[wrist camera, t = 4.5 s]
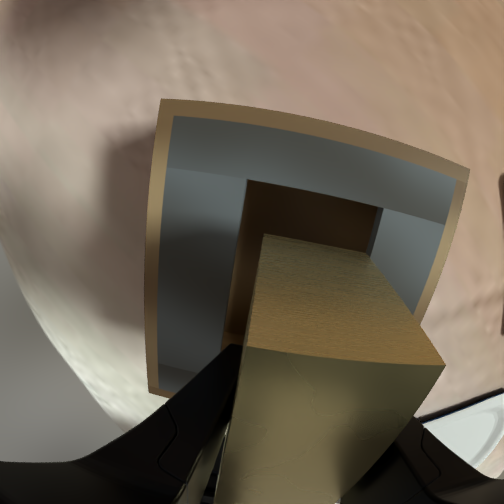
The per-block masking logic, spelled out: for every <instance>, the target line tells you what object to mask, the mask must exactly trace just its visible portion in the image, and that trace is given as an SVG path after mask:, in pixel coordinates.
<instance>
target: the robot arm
mask: <svg viewBox="0 0 504 504" xmlns="http://www.w3.org/2000/svg"><path fill="white" fill-rule="evenodd" d="M242 350H243V345H239V344H234V343H230V344H229V345H228V346H227V347H226V348H224V349H223V350H222V351H221V352H220V353H219V354H218V355H217V356H216V357H215V358H214V359H213V360H212V361H211V362H210V363H209V364H207V365H206V366H205V367H204V368H203V369H202V370H201V371H200V372H199V373H198V374H197V375H196V376H194V377H193V378H192V379H191V380H190V381H189V382H188V383H187V384H186V385H185V386H183V387H182V388H181V389H180V390H179V391H178V392H177V393H176V394H175V395H173V396H172V397H171V398H170V399H169V400H168V401H167V402H166V403H165V404H163V405H162V406H161V407H160V408H159V409H157V410H156V411H155V412H154V413H153V414H151V415H150V416H149V417H148V418H146V419H145V420H144V421H143V422H141V423H140V424H138V425H137V426H135V427H134V428H132V429H131V430H129V431H128V432H126V433H125V434H123V435H122V436H120V437H118V438H117V439H115V440H113V441H111V442H110V443H108V444H107V445H105V446H103V447H101V448H100V449H98V450H96V451H95V452H93V453H91V454H89V455H87V456H85V457H82V458H80V459H76V460H73V461H67V462H45V463H44V462H41V463H31V462H3V461H0V504H213V501H214V496H215V490H216V485H217V480H218V474H219V469H220V464H221V458H222V453H223V447H224V442H225V437H224V435H225V432H226V429H227V426H228V423H229V419H230V414H231V409H232V404H233V399H234V394H235V389H236V384H237V379H238V374H239V368H240V362H241V356H242ZM340 504H504V479H494V478H490V477H487V476H485V475H483V474H482V473H480V472H479V471H477V470H476V469H475V468H473V467H472V466H471V465H469V464H468V463H467V462H466V461H464V460H463V459H462V458H460V457H459V456H458V455H456V454H455V453H454V452H453V451H451V450H450V449H449V448H448V447H447V446H445V445H444V444H443V443H442V442H441V441H440V440H439V439H437V438H436V437H435V436H434V435H433V434H432V433H431V432H430V431H429V430H428V429H427V428H424V425H423V424H422V423H420V422H419V421H418V420H417V419H416V418H415V417H414V416H413V417H412V418H411V419H410V421H409V422H408V423H407V425H406V426H405V427H404V429H403V430H402V431H401V433H400V434H399V435H398V436H397V438H396V439H395V440H394V441H393V443H392V444H391V445H390V446H389V447H388V449H387V450H386V451H385V452H384V453H383V454H382V456H381V457H380V458H379V459H378V460H377V461H376V462H375V463H374V465H373V466H372V467H371V468H370V469H369V470H368V471H367V472H366V473H365V474H364V475H363V476H362V477H361V478H360V479H359V481H358V482H357V483H356V484H355V485H354V486H353V487H352V488H350V489H349V490H348V491H347V492H346V493H345V494H344V495H343V496H342V497H341V498H340Z"/></svg>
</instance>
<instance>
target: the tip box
mask: <svg viewBox="0 0 504 504" xmlns="http://www.w3.org/2000/svg"><path fill="white" fill-rule="evenodd" d="M469 173H470V169H468V168H466V167H464V166H461V165H459V164H457V163H454V162H452V161H450V160H447V159H445V158H442V157H440V156H437V155H434V154H432V153H429V152H427V151H424V150H421V149H418V148H416V147H413V146H410V145H407V144H404V143H401V142H398V141H395V140H392V139H389V138H386V137H383V136H379V135H376V134H373V133H369V132H366V131H362V130H359V129H355V128H351V127H347V126H344V125H340V124H336V123H332V122H327V121H323V120H319V119H314V118H310V117H305V116H300V115H295V114H290V113H285V112H279V111H273V110H267V109H261V108H255V107H248V106H240V105H233V104H224V103H215V102H205V101H193V100H178V99H161V101H160V107H159V113H158V120H157V126H156V133H155V140H154V148H153V156H152V165H151V174H150V184H149V195H148V207H147V222H146V241H145V273H144V314H145V345H146V364H147V378H148V390H149V393H152V394H155V395H159V396H162V397H166V398H171V397H172V396H173V395H175V394H176V393H177V392H178V391H179V390H180V389H181V388H182V387H183V386H185V385H186V384H187V383H188V382H189V381H190V380H191V379H192V378H193V377H194V376H196V375H197V374H198V373H199V372H200V371H201V370H202V369H203V368H204V367H205V366H206V365H207V364H209V363H210V362H211V361H212V360H213V359H214V358H215V357H216V356H217V355H218V354H219V353H220V352H221V351H222V350H223V349H224V348H226V347H227V346H228V345H229V344H230V343H234V344H239V345H243V342H244V337H245V332H246V326H247V321H248V316H249V311H250V305H251V300H252V295H253V289H254V284H255V279H256V273H257V268H258V263H259V257H260V252H261V246H262V241H263V235H264V234H270V235H275V236H281V237H286V238H291V239H297V240H302V241H307V242H313V243H318V244H323V245H328V246H333V247H339V248H344V249H349V250H354V251H359V252H364V253H367V255H368V256H369V257H370V259H371V260H372V261H373V262H374V264H375V265H376V266H377V267H378V269H379V270H380V271H381V273H382V274H383V275H384V277H385V278H386V279H387V281H388V282H389V283H390V285H391V286H392V287H393V289H394V290H395V291H396V293H397V294H398V295H399V297H400V298H401V299H402V301H403V302H404V304H405V305H406V306H407V308H408V309H409V311H410V312H411V313H412V315H413V316H414V318H415V319H416V321H417V322H418V323H419V325H420V324H421V321H422V319H423V317H424V315H425V312H426V310H427V308H428V305H429V303H430V301H431V298H432V296H433V293H434V291H435V288H436V286H437V283H438V281H439V278H440V275H441V273H442V270H443V267H444V264H445V261H446V258H447V255H448V252H449V249H450V246H451V243H452V240H453V237H454V233H455V230H456V227H457V223H458V219H459V216H460V212H461V208H462V204H463V200H464V196H465V192H466V187H467V183H468V178H469Z"/></svg>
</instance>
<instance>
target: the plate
mask: <svg viewBox="0 0 504 504" xmlns="http://www.w3.org/2000/svg"><path fill="white" fill-rule="evenodd" d="M422 424H423V425H424V428H427V429H428V430H429V431H430V432H431V433H432V434H433V435H434V436H435V437H436V438H437V439H439V440H440V441H441V442H442V443H443V444H444V445H445V446H447V447H448V448H449V449H450V450H451V451H453V452H454V453H455V454H456V455H458V456H459V457H460V458H462V459H463V460H464V461H466V462H467V463H468V464H469V465H471V466H472V467H473V468H476V467H478V466H479V465H480V464H481V463H482V462H483V461H484V460H485V459H486V458H487V456H488V455H489V454H490V453H491V452H492V450H493V449H494V448H495V446H496V445H497V444H498V442H499V441H500V439H501V438H502V436H503V435H504V392H503V393H500V394H497V395H495V396H492V397H489V398H486V399H484V400H481V401H479V402H477V403H474V404H472V405H469V406H467V407H464V408H461V409H459V410H456V411H454V412H451V413H448V414H446V415H443V416H440V417H437V418H434V419H431V420H428V421H426V422H423V423H422ZM339 500H340V499H339Z"/></svg>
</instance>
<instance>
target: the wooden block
mask: <svg viewBox="0 0 504 504" xmlns="http://www.w3.org/2000/svg"><path fill="white" fill-rule="evenodd" d="M445 366H446V364H445V363H444V361H443V360H442V358H441V356H440V355H439V353H438V352H437V350H436V349H435V347H434V346H433V344H432V343H431V341H430V340H429V338H428V337H427V335H426V334H425V332H424V331H423V329H422V328H421V326H420V325H419V323H418V322H417V321H416V319H415V318H414V316H413V315H412V313H411V312H410V311H409V309H408V308H407V306H406V305H405V304H404V302H403V301H402V299H401V298H400V297H399V295H398V294H397V293H396V291H395V290H394V289H393V287H392V286H391V285H390V283H389V282H388V281H387V279H386V278H385V277H384V275H383V274H382V273H381V271H380V270H379V269H378V267H377V266H376V265H375V264H374V262H373V261H372V260H371V259H370V257H369V256H368V255H367V253H364V252H359V251H354V250H349V249H344V248H339V247H333V246H328V245H323V244H318V243H313V242H307V241H302V240H297V239H291V238H286V237H281V236H275V235H270V234H264V235H263V241H262V246H261V252H260V257H259V263H258V268H257V273H256V279H255V284H254V289H253V295H252V300H251V305H250V311H249V316H248V321H247V326H246V332H245V337H244V342H243V350H242V356H241V362H240V368H239V374H238V379H237V384H236V389H235V394H234V399H233V404H232V409H231V414H230V419H229V423H228V426H227V431H226V437H225V442H224V447H223V453H222V458H221V464H220V469H219V474H218V480H217V485H216V490H215V496H214V501H213V504H335V503H336V502H337V501H338V500H339V499H340V498H341V497H342V496H343V495H344V494H345V493H346V492H347V491H348V490H349V489H350V488H352V487H353V486H354V485H355V484H356V483H357V482H358V481H359V479H360V478H361V477H362V476H363V475H364V474H365V473H366V472H367V471H368V470H369V469H370V468H371V467H372V466H373V465H374V463H375V462H376V461H377V460H378V459H379V458H380V457H381V456H382V454H383V453H384V452H385V451H386V450H387V449H388V447H389V446H390V445H391V444H392V443H393V441H394V440H395V439H396V438H397V436H398V435H399V434H400V433H401V431H402V430H403V429H404V427H405V426H406V425H407V423H408V422H409V421H410V419H411V418H412V417H413V415H414V414H415V413H416V411H417V410H418V408H419V407H420V405H421V404H422V403H423V401H424V400H425V398H426V397H427V395H428V394H429V392H430V391H431V389H432V387H433V386H434V384H435V383H436V381H437V379H438V378H439V376H440V375H441V373H442V371H443V370H444V368H445Z"/></svg>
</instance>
